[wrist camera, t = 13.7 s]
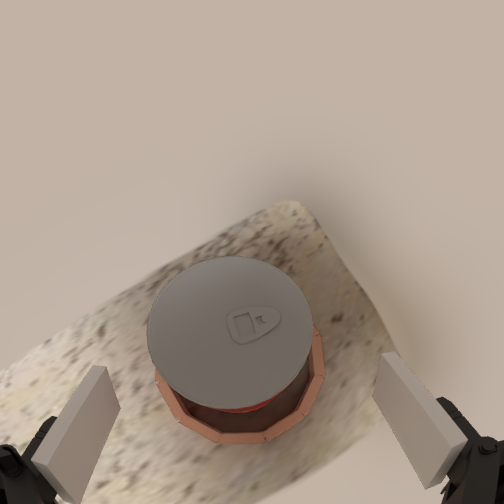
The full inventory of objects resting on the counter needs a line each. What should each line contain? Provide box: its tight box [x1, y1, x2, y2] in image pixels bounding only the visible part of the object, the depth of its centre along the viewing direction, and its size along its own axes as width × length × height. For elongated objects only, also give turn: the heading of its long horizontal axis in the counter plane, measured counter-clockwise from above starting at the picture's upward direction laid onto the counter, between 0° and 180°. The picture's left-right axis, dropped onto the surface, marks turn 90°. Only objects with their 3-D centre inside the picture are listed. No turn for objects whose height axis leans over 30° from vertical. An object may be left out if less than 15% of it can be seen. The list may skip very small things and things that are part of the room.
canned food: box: [147, 256, 313, 413], centre depth 18 cm, size 8×8×11 cm
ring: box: [155, 325, 325, 444], centre depth 22 cm, size 13×13×2 cm
